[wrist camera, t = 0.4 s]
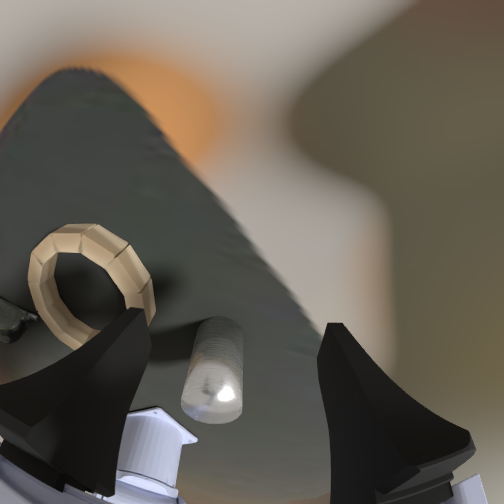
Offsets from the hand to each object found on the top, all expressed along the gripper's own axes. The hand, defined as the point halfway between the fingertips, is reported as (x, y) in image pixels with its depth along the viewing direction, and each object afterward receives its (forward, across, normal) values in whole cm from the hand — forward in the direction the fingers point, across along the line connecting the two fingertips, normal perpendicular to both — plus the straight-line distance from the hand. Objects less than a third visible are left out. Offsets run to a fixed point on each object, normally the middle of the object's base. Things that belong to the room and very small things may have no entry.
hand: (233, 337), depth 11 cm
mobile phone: (+9, +29, +10) cm, 32 cm away
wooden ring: (+10, +13, +6) cm, 17 cm away
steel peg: (+10, +2, +9) cm, 14 cm away
